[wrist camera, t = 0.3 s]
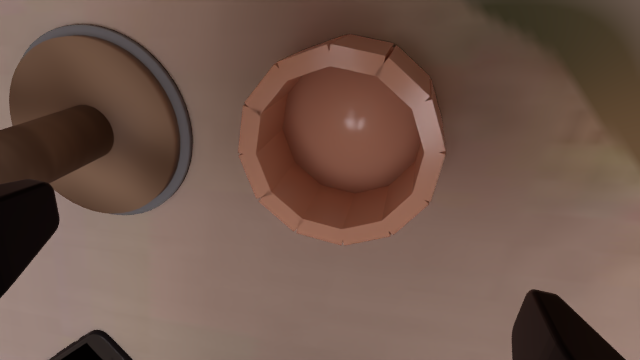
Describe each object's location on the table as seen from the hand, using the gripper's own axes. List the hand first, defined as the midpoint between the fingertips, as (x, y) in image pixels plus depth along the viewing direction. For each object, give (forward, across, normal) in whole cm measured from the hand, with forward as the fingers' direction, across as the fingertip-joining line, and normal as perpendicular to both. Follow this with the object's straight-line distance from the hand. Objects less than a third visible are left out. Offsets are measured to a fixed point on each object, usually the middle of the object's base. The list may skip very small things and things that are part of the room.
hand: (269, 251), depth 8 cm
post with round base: (+14, +15, +5) cm, 21 cm away
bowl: (+15, 0, +3) cm, 15 cm away
